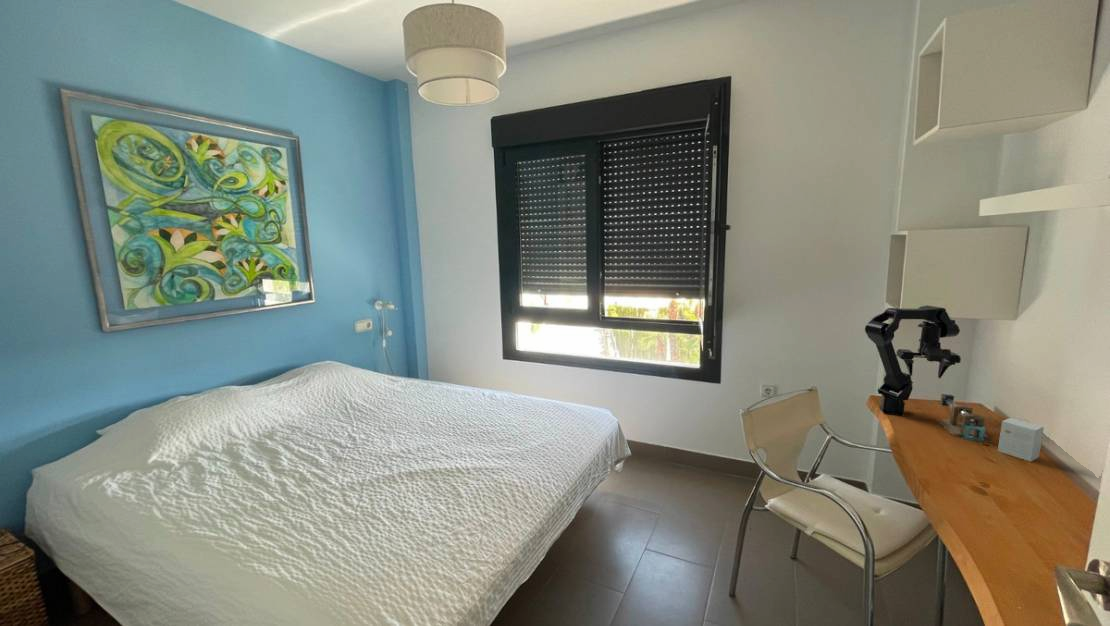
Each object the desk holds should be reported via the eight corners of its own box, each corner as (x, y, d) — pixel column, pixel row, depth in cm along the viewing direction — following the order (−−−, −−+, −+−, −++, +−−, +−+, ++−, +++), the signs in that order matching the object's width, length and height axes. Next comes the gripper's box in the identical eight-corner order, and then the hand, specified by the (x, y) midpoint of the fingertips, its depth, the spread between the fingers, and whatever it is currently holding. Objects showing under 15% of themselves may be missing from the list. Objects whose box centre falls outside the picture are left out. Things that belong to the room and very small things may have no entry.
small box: (1039, 458, 139) (1045, 426, 137) (1030, 462, 137) (1037, 430, 135) (1004, 447, 146) (1010, 417, 144) (996, 451, 144) (1002, 420, 142)
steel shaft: (966, 425, 153) (967, 414, 153) (940, 403, 172) (941, 394, 171) (977, 427, 152) (979, 416, 151) (950, 404, 171) (952, 395, 170)
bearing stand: (953, 436, 154) (956, 414, 153) (937, 421, 166) (940, 400, 165) (990, 440, 151) (994, 418, 149) (971, 424, 163) (974, 403, 161)
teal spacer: (964, 439, 152) (966, 425, 151) (962, 437, 153) (964, 424, 153) (982, 441, 151) (985, 427, 150) (981, 439, 152) (983, 426, 151)
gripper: (908, 341, 169) (903, 380, 172) (970, 345, 163) (964, 386, 166) (898, 335, 180) (893, 372, 182) (956, 338, 173) (950, 376, 176)
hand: (924, 376), depth 176 cm, fingers open, 9 cm apart
